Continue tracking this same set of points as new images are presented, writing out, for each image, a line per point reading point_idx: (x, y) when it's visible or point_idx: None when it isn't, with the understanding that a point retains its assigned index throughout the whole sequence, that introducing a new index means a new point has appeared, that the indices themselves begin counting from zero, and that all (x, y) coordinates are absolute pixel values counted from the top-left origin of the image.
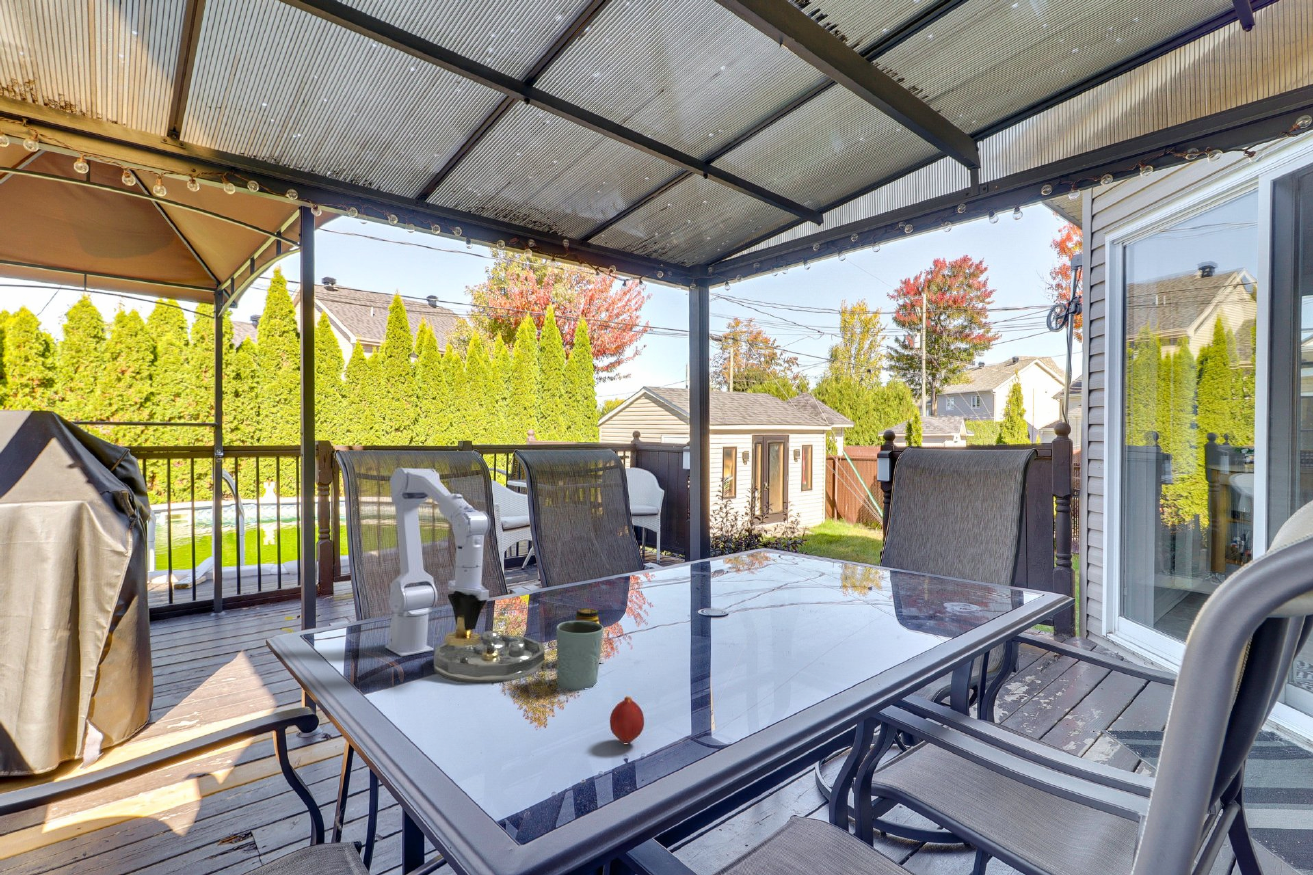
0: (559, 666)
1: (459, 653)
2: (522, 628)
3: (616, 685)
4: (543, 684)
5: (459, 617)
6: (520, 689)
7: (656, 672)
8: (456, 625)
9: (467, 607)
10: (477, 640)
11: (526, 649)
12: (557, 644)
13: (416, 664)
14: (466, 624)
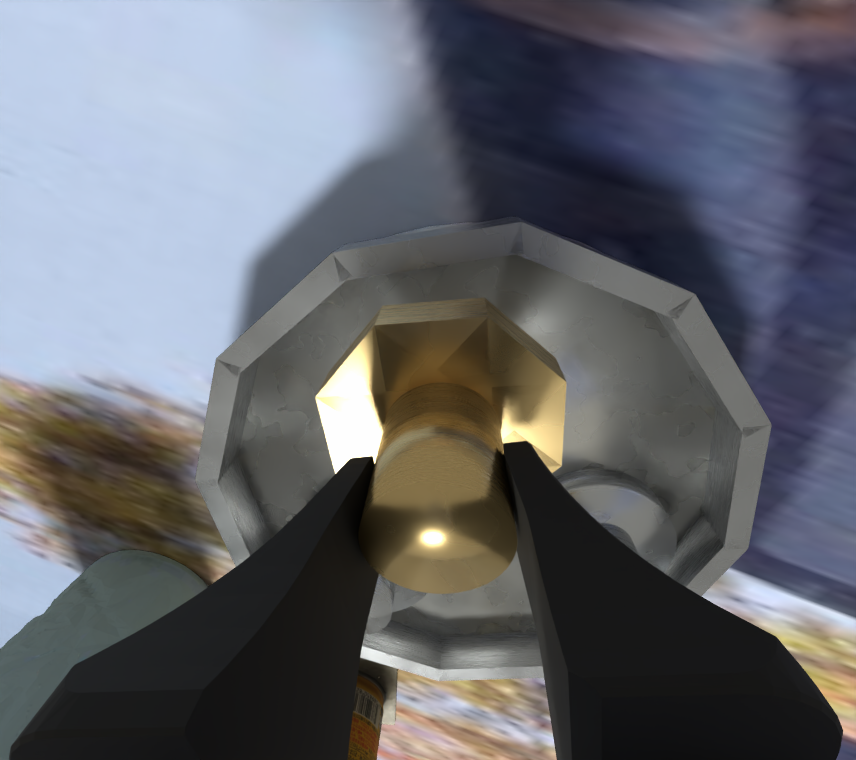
0: (83, 606)
1: (624, 402)
2: None
3: None
4: (165, 521)
5: (421, 490)
6: (134, 445)
7: None
8: (526, 441)
9: (158, 625)
10: None
11: (499, 624)
12: (27, 693)
13: (697, 166)
14: (327, 482)
